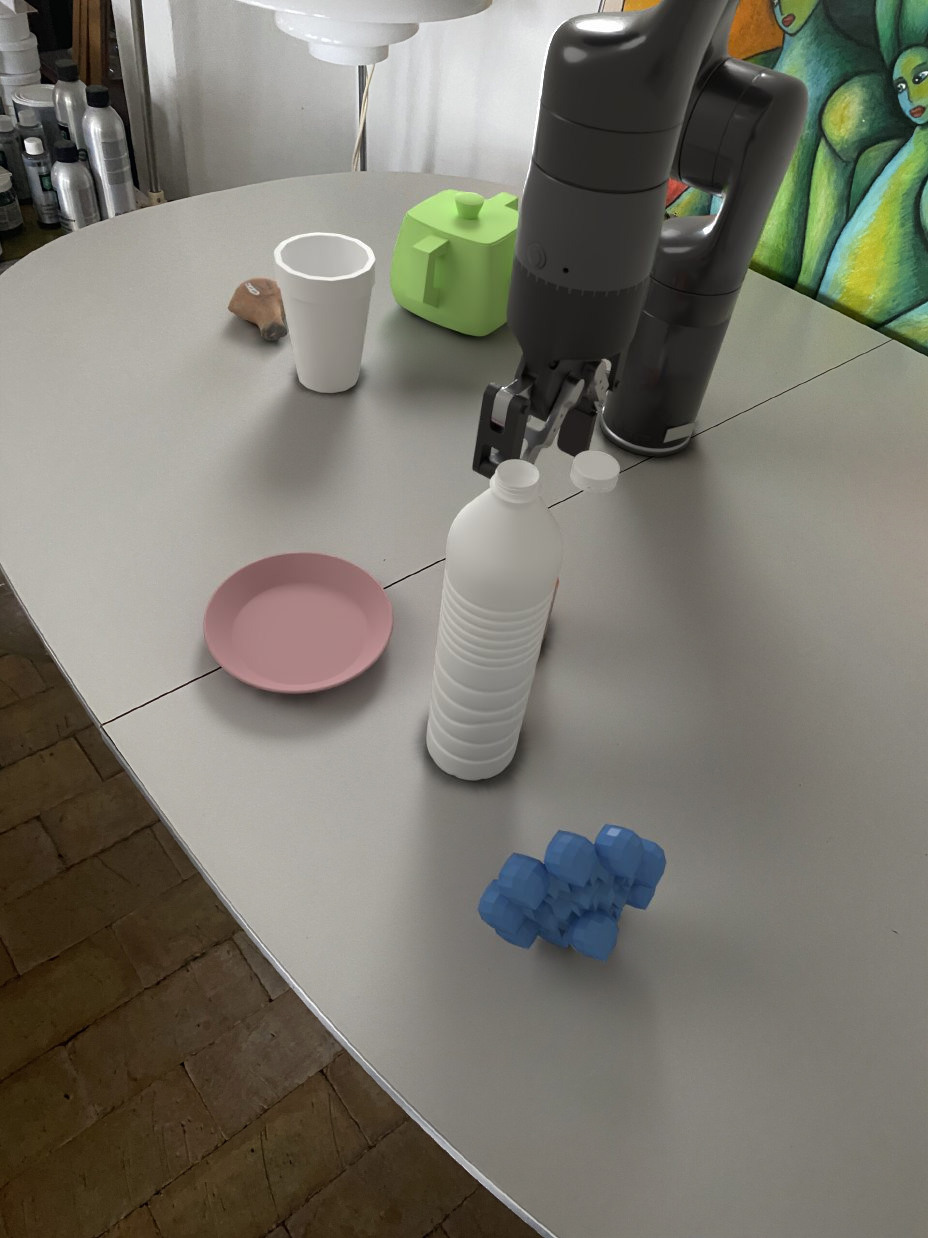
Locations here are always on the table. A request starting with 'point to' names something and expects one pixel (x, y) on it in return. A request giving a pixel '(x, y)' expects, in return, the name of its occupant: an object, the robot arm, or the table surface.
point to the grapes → (574, 890)
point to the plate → (298, 622)
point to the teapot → (457, 260)
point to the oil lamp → (260, 306)
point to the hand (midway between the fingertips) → (539, 481)
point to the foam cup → (326, 305)
